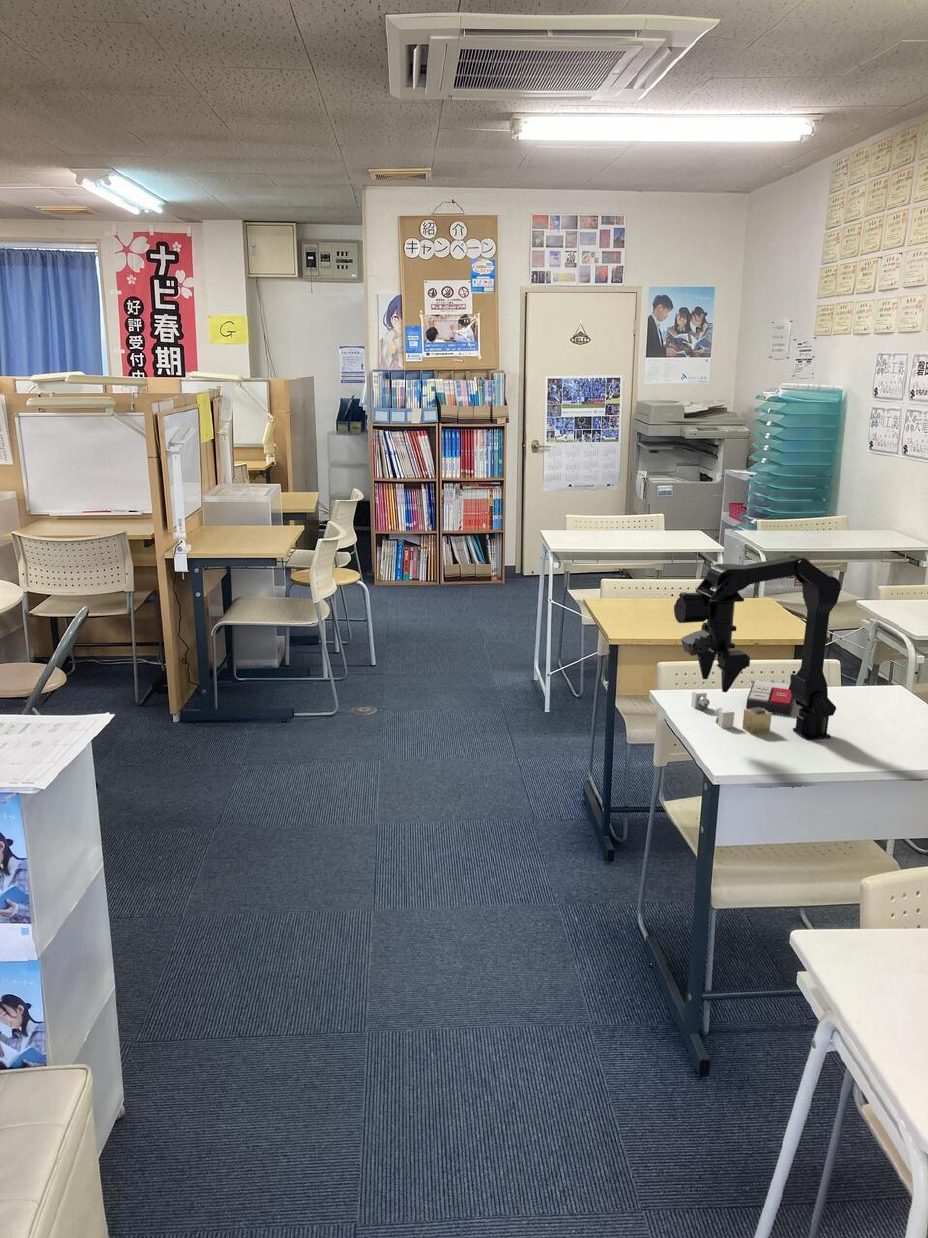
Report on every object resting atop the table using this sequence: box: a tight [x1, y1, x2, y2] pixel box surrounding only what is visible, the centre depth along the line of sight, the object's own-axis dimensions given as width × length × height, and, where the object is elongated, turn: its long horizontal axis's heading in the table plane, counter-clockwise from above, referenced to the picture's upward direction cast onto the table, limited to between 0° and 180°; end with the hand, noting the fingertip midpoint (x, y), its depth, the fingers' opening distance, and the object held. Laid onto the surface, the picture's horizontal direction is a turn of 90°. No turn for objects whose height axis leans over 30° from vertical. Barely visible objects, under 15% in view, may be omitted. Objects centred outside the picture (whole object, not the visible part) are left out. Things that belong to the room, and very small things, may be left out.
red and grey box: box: [745, 679, 795, 716], centre depth 244 cm, size 11×4×15 cm
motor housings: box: [691, 690, 735, 729], centre depth 233 cm, size 3×16×4 cm, turn 14°
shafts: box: [697, 696, 724, 724], centre depth 233 cm, size 2×12×3 cm, turn 14°
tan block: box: [741, 707, 773, 735], centre depth 224 cm, size 4×5×6 cm
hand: (714, 685), depth 213 cm, fingers open, 9 cm apart
